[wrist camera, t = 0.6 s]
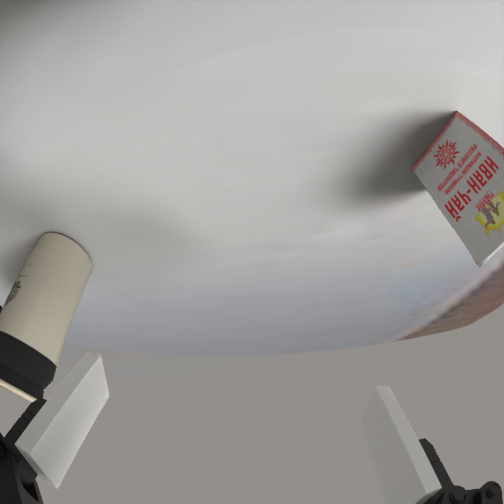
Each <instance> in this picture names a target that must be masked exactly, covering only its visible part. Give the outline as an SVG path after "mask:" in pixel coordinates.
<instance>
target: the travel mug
mask: <svg viewBox="0 0 504 504" xmlns="http://www.w3.org/2000/svg"><path fill="white" fill-rule="evenodd" d="M91 271H92V263H91V260H90V258H89V256H88V255H87V253H86V252H85V251H84V250H83V249H82V248H81V247H80V246H79V245H78V244H77V243H76V242H74V241H73V240H71V239H69V238H68V237H66V236H63V235H61V234H57V233H46V234H44V235H42V236H41V238H40V239H39V241H38V242H37V244H36V246H35V247H34V249H33V251H32V252H31V254H30V256H29V258H28V259H27V261H26V263H25V265H24V267H23V268H22V270H21V272H20V274H19V276H18V278H17V280H16V282H15V283H14V285H13V287H12V289H11V292H10V294H9V296H8V298H7V300H6V302H5V304H4V306H3V309H2V311H1V313H0V387H2V388H4V389H6V390H7V391H9V392H11V393H13V394H15V395H16V396H18V397H20V398H22V399H24V400H26V401H28V402H30V403H32V402H34V401H35V400H37V399H39V398H40V397H41V398H43V393H44V391H43V390H44V389H45V388H46V387H47V386H48V385H49V384H50V383H51V382H52V381H53V378H54V374H55V371H56V367H57V364H58V360H59V357H60V354H61V351H62V347H63V344H64V341H65V338H66V335H67V332H68V329H69V326H70V324H71V321H72V318H73V315H74V313H75V310H76V307H77V305H78V302H79V300H80V297H81V295H82V292H83V290H84V287H85V285H86V283H87V280H88V278H89V276H90V273H91Z"/></svg>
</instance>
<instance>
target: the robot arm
mask: <svg viewBox="0 0 504 504" xmlns="http://www.w3.org/2000/svg"><path fill="white" fill-rule="evenodd" d="M108 397H109V391H108V387H107V382H106V378H105V373H104V368H103V363H102V358H101V355H99V354H96V353H92V352H89V351H88V352H87V353H86V354H85V355H84V356H83V357H82V359H81V360H80V361H79V362H78V363H77V365H76V366H75V367H74V368H73V370H72V371H71V372H70V373H69V374H68V376H67V377H66V378H65V379H64V380H63V381H62V383H61V384H60V385H59V387H58V388H57V389H56V390H55V392H54V393H53V394H52V395H51V396H50V398H49V399H48V400H45V399H43V398H41V397H40V398H39V399H37V400H35V401H34V402H32V403H31V404H30V405H29V406H28V408H27V409H26V412H24V413H23V414H22V415H21V418H19V419H18V420H17V422H16V423H15V424H14V425H13V427H12V428H11V429H10V431H9V432H8V433H7V435H6V436H5V437H3V436H2V434H1V433H0V504H43V501H42V498H41V494H40V491H39V488H38V484H37V482H36V480H35V478H36V476H37V475H38V476H39V477H40V478H41V479H42V481H43V482H45V483H47V484H49V485H51V486H52V487H54V488H56V489H58V488H59V486H60V484H61V482H62V480H63V477H64V476H65V474H66V472H67V470H68V468H69V466H70V464H71V463H72V461H73V459H74V457H75V455H76V453H77V451H78V449H79V448H80V446H81V444H82V442H83V441H84V439H85V437H86V435H87V433H88V431H89V430H90V428H91V426H92V424H93V423H94V421H95V419H96V418H97V416H98V414H99V412H100V411H101V409H102V407H103V406H104V404H105V402H106V400H107V399H108ZM357 424H358V427H359V429H360V432H361V435H362V438H363V440H364V443H365V446H366V449H367V452H368V455H369V458H370V460H371V463H372V466H373V469H374V472H375V475H376V478H377V481H378V484H379V487H380V490H381V493H382V496H383V499H384V502H385V504H503V501H502V490H501V487H500V485H499V484H498V483H496V482H493V481H490V482H487V483H485V484H484V485H483V486H482V487H481V488H480V489H473V490H465V489H464V488H463V487H461V486H454V485H453V483H452V482H451V480H450V478H449V476H448V474H447V472H446V470H445V468H444V466H443V464H442V462H441V461H440V458H439V457H438V455H436V451H435V449H434V447H433V445H432V444H431V443H429V442H428V441H427V440H426V439H420V440H418V438H417V436H416V434H415V433H414V431H413V429H412V427H411V425H410V423H409V421H408V420H407V418H406V416H405V414H404V412H403V410H402V409H401V407H400V405H399V403H398V401H397V400H396V398H395V396H394V394H393V392H392V391H391V389H390V387H389V385H382V386H381V385H380V386H375V388H374V390H373V392H372V394H371V396H370V398H369V400H368V402H367V404H366V406H365V408H364V410H363V412H362V414H361V416H360V418H359V420H358V422H357Z"/></svg>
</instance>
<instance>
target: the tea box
mask: <svg viewBox="0 0 504 504" xmlns="http://www.w3.org/2000/svg"><path fill="white" fill-rule="evenodd" d="M411 169H412V170H413V171H414V173H415V174H416V176H417V177H418V178H419V180H420V181H421V182H422V184H423V185H424V187H425V188H426V189H427V191H428V192H429V194H430V195H431V197H432V198H433V200H434V201H435V203H436V204H437V206H438V207H439V209H440V210H441V212H442V214H443V215H444V216H445V218H446V219H447V220H448V222H449V223H450V224H451V226H452V227H453V228H454V230H455V231H456V233H457V234H458V235H459V237H460V238H461V240H462V241H463V243H464V244H465V246H466V247H467V249H468V250H469V252H470V254H471V255H472V257H473V259H474V260H475V262H476V264H477V266H478V265H479V267H481V266H482V265H483V264H484V263H485V262H486V261H487V260H488V259H490V258H491V257H492V256H493V255H494V254H495V253H496V252H497V251H498V250H499V249H500V248H501V247H502V246H503V245H504V149H503V148H502V146H500V145H499V144H498V143H497V142H496V141H495V140H494V139H492V138H491V137H490V136H489V135H488V134H486V133H485V132H484V131H483V130H482V129H480V128H479V127H478V126H477V125H475V124H474V123H473V122H471V121H470V120H469V119H467V118H466V117H465V116H463V115H462V114H461V113H459V112H458V111H456V113H455V114H454V115H453V117H452V118H451V119H450V121H449V122H448V123H447V125H446V126H445V127H444V128H443V130H442V131H441V132H440V134H439V135H438V136H437V137H436V139H435V140H434V141H433V142H432V144H431V145H430V146H429V147H428V149H427V150H426V151H425V152H424V154H423V155H422V156H421V157H420V159H419V160H418V161H417V162H416V163H415V165H414V166H413V167H412V168H411Z"/></svg>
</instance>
